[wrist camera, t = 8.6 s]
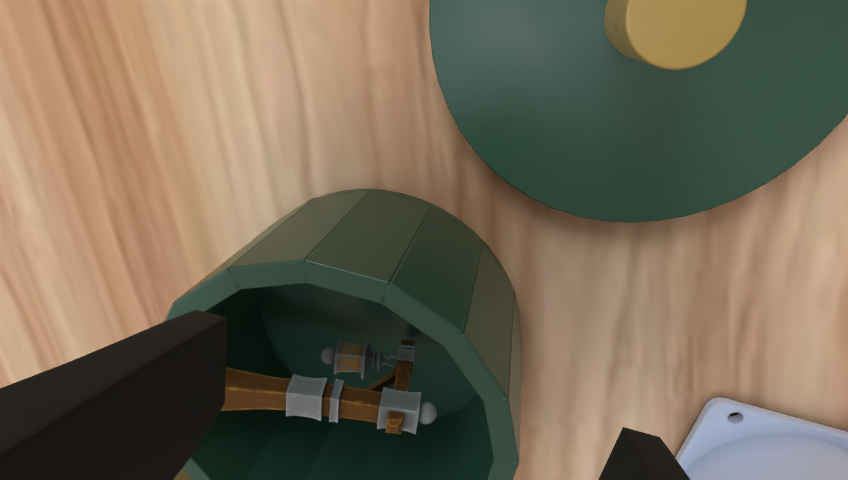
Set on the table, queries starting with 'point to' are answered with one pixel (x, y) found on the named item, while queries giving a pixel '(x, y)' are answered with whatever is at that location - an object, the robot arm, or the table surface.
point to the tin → (383, 327)
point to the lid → (641, 96)
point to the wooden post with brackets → (338, 390)
